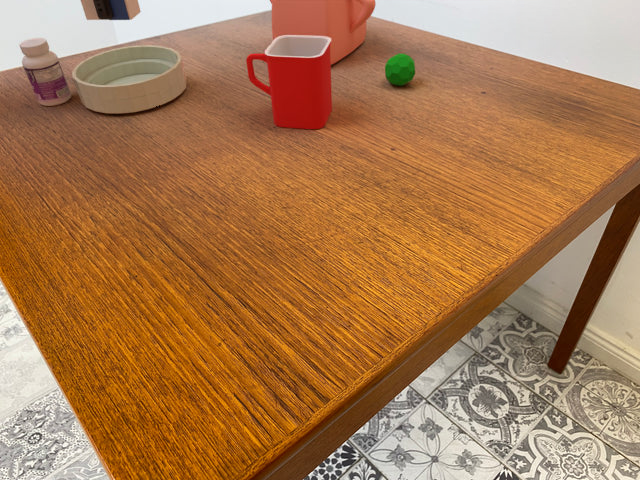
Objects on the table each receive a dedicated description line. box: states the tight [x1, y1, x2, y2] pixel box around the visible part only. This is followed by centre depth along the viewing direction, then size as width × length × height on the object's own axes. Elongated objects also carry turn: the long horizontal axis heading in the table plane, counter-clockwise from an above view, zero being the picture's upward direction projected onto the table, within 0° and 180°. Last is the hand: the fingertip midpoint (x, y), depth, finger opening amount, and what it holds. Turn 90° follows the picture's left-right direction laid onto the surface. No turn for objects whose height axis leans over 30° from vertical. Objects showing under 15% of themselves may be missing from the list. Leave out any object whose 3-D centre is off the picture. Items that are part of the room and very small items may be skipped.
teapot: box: [269, 0, 376, 65], centre depth 96 cm, size 20×22×14 cm
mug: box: [245, 35, 333, 130], centre depth 75 cm, size 12×8×11 cm
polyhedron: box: [384, 52, 416, 87], centre depth 84 cm, size 5×5×5 cm
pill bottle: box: [18, 37, 72, 107], centre depth 84 cm, size 5×5×10 cm
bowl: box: [71, 44, 188, 114], centre depth 86 cm, size 17×17×5 cm
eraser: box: [80, 0, 141, 21], centre depth 76 cm, size 7×4×4 cm, turn 83°
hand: (112, 13), depth 77 cm, fingers closed on eraser, 3 cm apart
